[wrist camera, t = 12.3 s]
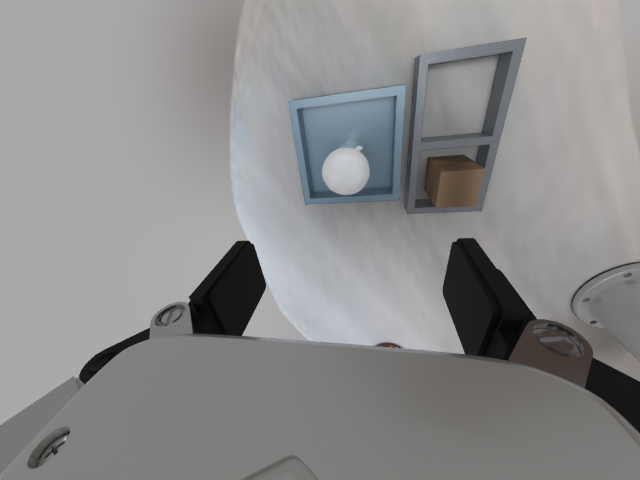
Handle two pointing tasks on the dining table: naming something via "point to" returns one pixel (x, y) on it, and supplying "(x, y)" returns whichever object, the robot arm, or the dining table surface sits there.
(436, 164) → the walnut peg
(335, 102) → the tray
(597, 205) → the dining table surface
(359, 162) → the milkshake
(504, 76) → the holder
